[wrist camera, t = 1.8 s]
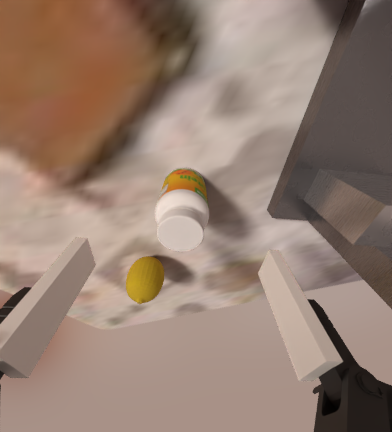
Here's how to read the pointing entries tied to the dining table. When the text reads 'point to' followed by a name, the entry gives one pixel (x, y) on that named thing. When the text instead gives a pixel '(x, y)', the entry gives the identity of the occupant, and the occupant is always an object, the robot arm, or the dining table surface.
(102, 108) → the dining table surface
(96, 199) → the dining table surface
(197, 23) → the dining table surface
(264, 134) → the dining table surface
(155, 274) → the lemon
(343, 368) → the robot arm
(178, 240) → the supplement bottle
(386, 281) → the grey frame
